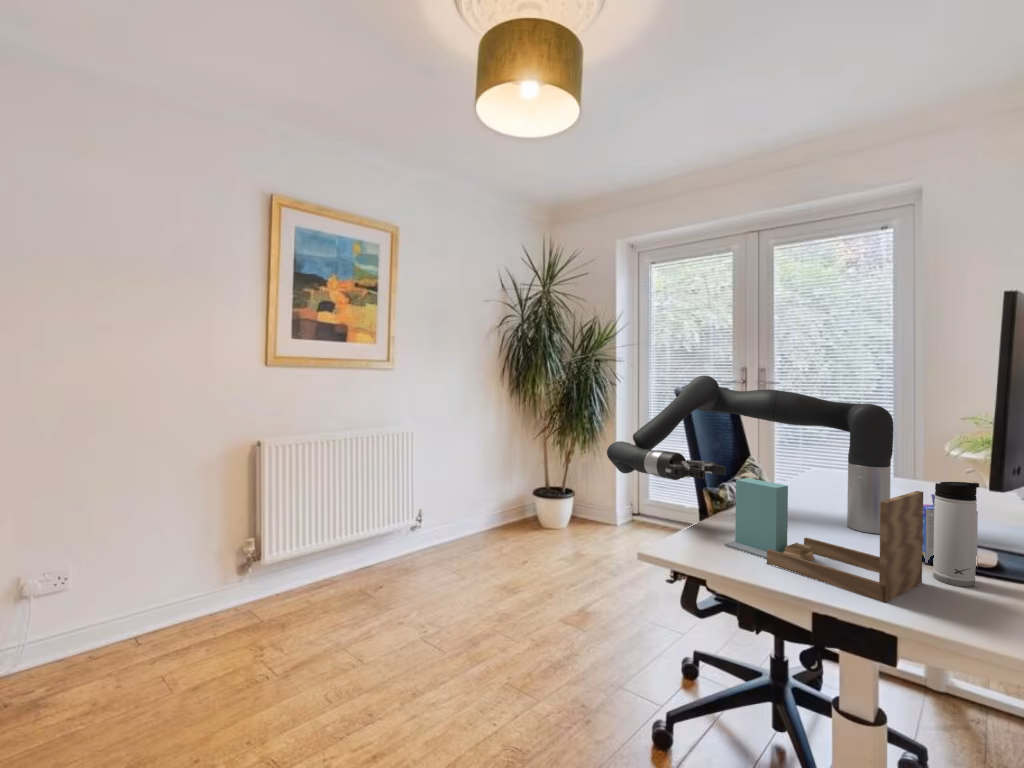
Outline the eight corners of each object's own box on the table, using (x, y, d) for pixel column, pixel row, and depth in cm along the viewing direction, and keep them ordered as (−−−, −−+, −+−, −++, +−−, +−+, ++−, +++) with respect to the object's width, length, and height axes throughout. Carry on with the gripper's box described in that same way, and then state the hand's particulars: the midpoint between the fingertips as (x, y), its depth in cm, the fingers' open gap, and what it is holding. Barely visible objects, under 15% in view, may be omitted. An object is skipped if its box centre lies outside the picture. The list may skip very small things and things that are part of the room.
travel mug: (968, 590, 95) (970, 485, 95) (926, 578, 101) (928, 478, 100) (983, 584, 98) (985, 482, 97) (942, 572, 104) (943, 476, 103)
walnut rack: (806, 550, 117) (807, 473, 116) (921, 583, 98) (923, 491, 98) (766, 563, 108) (767, 480, 108) (885, 602, 89) (886, 502, 89)
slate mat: (751, 537, 125) (751, 535, 125) (800, 552, 115) (800, 550, 115) (724, 545, 120) (724, 543, 120) (773, 561, 109) (773, 559, 109)
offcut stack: (796, 555, 114) (796, 542, 114) (814, 560, 111) (814, 547, 111) (781, 560, 111) (781, 546, 111) (800, 566, 108) (800, 552, 108)
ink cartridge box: (961, 559, 111) (962, 494, 111) (979, 569, 106) (980, 500, 105) (911, 556, 113) (912, 492, 113) (926, 565, 108) (927, 498, 107)
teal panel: (746, 538, 123) (747, 478, 123) (787, 550, 115) (787, 485, 114) (735, 541, 121) (735, 479, 121) (775, 554, 112) (776, 487, 112)
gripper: (646, 453, 138) (697, 460, 124) (681, 449, 145) (731, 455, 132) (647, 480, 138) (697, 491, 124) (681, 474, 145) (732, 484, 132)
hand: (715, 472), depth 128 cm, fingers open, 8 cm apart
